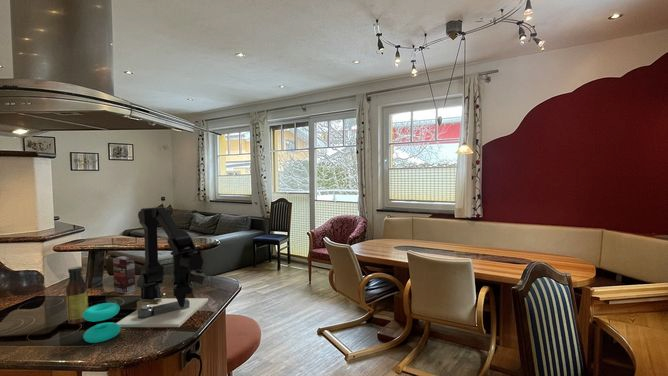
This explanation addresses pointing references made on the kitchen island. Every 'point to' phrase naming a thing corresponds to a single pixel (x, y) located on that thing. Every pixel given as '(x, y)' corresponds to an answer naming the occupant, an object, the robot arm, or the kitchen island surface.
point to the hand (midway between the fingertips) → (182, 307)
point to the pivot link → (160, 309)
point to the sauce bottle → (76, 296)
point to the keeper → (147, 302)
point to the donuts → (103, 329)
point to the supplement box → (124, 274)
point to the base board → (164, 315)
